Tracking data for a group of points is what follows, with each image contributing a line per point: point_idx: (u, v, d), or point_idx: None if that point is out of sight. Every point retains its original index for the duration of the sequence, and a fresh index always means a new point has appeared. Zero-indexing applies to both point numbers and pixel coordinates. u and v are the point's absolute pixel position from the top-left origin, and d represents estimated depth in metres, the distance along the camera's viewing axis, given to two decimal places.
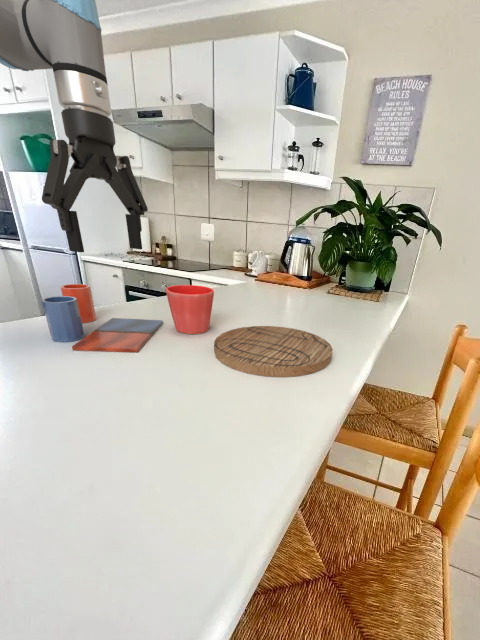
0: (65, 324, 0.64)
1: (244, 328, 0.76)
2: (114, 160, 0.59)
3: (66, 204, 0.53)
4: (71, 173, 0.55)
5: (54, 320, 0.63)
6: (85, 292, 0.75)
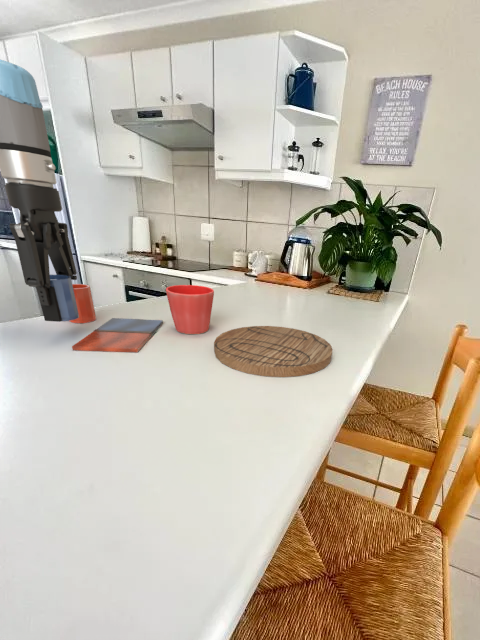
0: (59, 303, 0.62)
1: (244, 328, 0.76)
2: (57, 223, 0.61)
3: (47, 283, 0.59)
4: None
5: None
6: (85, 292, 0.75)
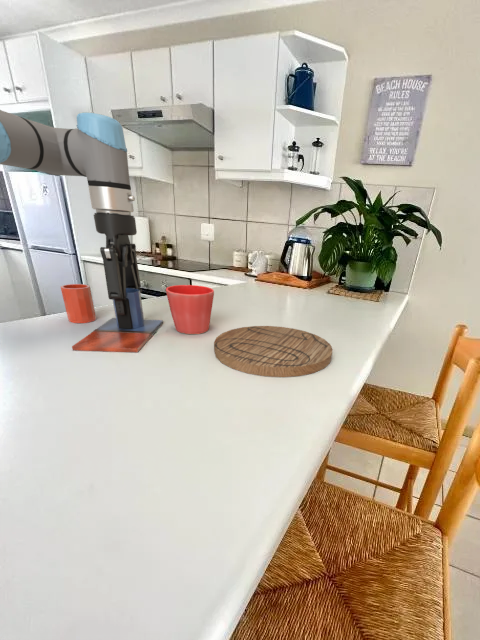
0: (131, 312, 0.72)
1: (244, 328, 0.76)
2: (129, 244, 0.71)
3: (124, 296, 0.68)
4: None
5: None
6: (85, 292, 0.75)
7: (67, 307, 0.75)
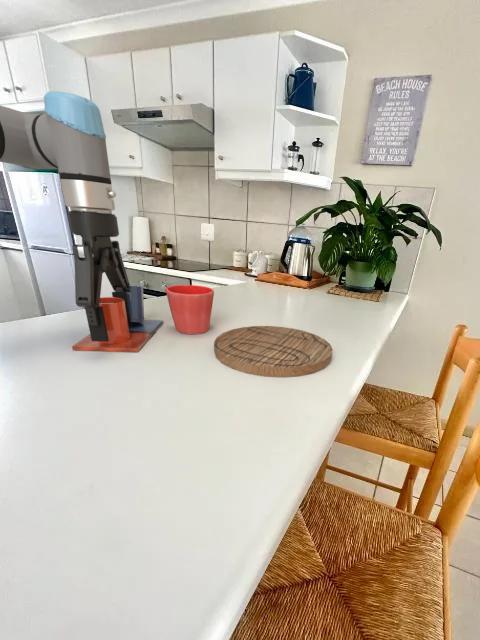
0: (132, 305, 0.72)
1: (244, 328, 0.76)
2: (111, 247, 0.62)
3: (97, 302, 0.56)
4: None
5: None
6: (120, 307, 0.63)
7: None
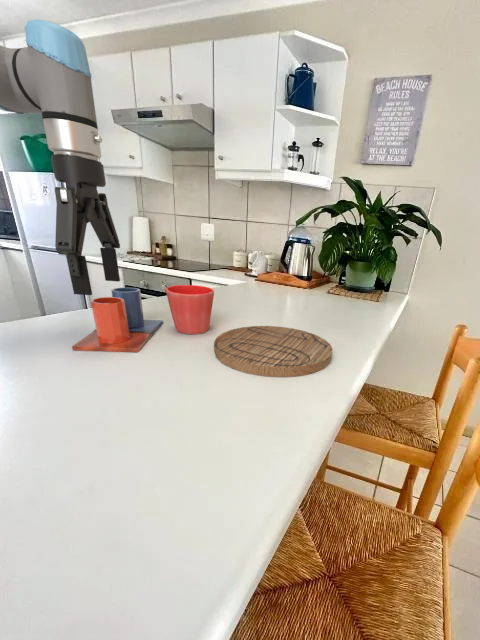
0: (131, 311, 0.72)
1: (244, 328, 0.76)
2: None
3: (79, 250, 0.53)
4: None
5: None
6: (120, 307, 0.63)
7: (98, 325, 0.63)
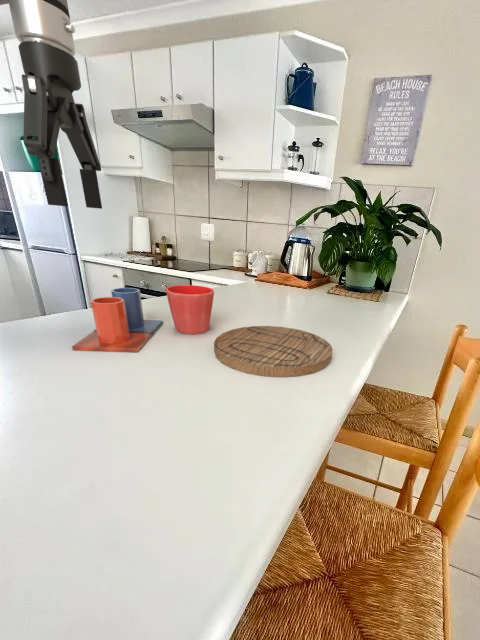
0: (130, 312, 0.72)
1: (244, 328, 0.76)
2: None
3: (50, 150, 0.49)
4: None
5: None
6: (120, 307, 0.63)
7: (98, 325, 0.63)
